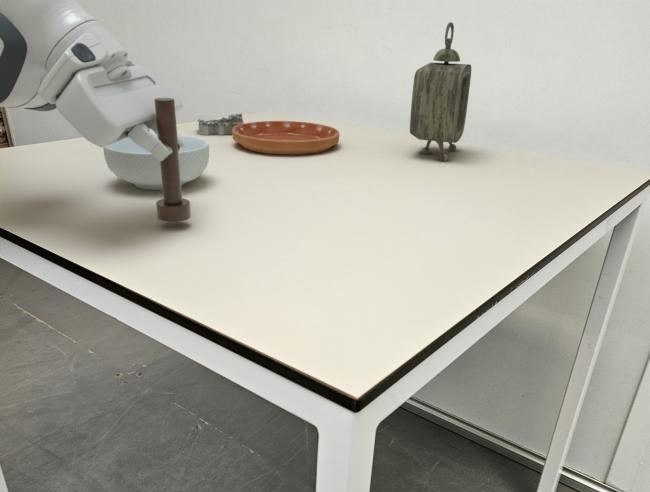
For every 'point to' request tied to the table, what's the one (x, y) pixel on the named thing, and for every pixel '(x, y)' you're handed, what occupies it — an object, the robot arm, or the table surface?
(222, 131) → the egg carton
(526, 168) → the table surface
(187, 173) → the cereal bowl
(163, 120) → the stirring stick
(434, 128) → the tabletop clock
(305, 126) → the saucer
